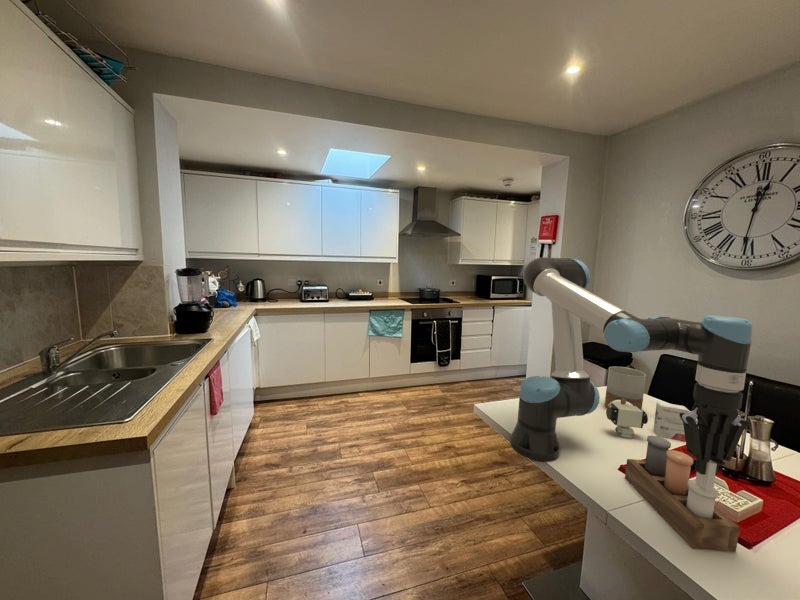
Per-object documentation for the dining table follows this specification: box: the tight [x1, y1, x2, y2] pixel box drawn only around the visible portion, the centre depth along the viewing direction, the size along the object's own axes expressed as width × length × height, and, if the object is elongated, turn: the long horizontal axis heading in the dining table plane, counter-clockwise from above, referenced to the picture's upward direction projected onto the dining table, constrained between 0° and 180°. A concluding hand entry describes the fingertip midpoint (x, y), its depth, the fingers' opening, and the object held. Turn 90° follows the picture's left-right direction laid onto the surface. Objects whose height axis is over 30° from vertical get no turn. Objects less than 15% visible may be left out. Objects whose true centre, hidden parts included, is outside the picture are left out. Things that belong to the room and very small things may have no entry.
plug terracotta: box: [664, 449, 694, 496], centre depth 79 cm, size 5×5×9 cm
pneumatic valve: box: [605, 402, 649, 439], centre depth 115 cm, size 6×12×12 cm, turn 79°
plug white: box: [686, 479, 719, 519], centre depth 72 cm, size 5×5×9 cm
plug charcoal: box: [645, 435, 672, 477], centre depth 86 cm, size 5×5×9 cm
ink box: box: [653, 401, 691, 443], centre depth 116 cm, size 9×5×12 cm, turn 65°
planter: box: [604, 366, 647, 410], centre depth 136 cm, size 13×13×18 cm
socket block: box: [624, 458, 741, 553], centre depth 80 cm, size 9×23×6 cm, turn 176°
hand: (703, 486), depth 72 cm, fingers closed
